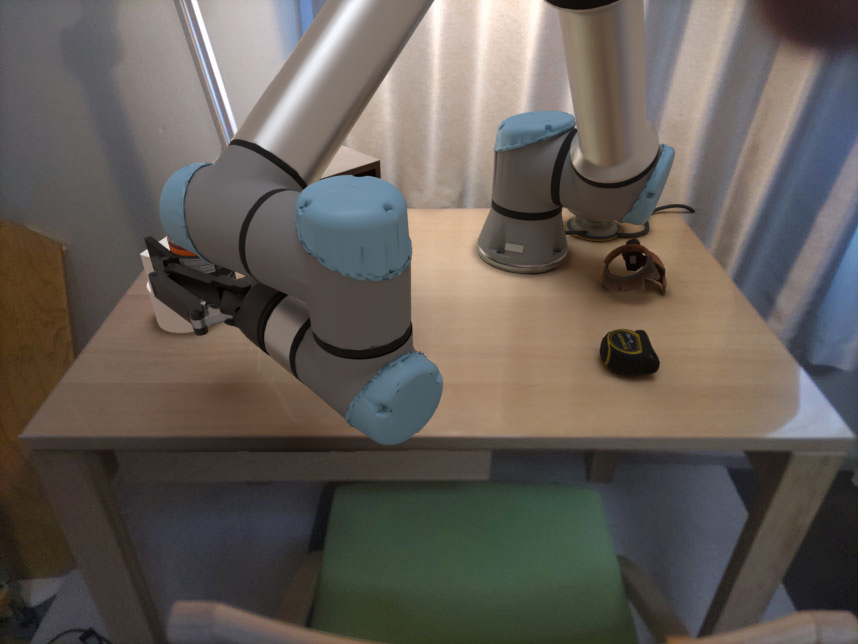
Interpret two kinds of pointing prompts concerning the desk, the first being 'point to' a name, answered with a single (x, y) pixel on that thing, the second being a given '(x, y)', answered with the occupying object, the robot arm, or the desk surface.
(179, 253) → the supplement bottle
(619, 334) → the tape measure
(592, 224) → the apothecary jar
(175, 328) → the base with upright slab
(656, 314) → the desk surface
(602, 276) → the brown hollow curved shell
